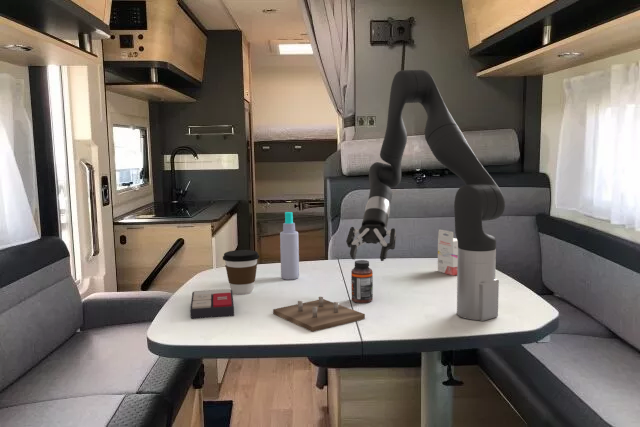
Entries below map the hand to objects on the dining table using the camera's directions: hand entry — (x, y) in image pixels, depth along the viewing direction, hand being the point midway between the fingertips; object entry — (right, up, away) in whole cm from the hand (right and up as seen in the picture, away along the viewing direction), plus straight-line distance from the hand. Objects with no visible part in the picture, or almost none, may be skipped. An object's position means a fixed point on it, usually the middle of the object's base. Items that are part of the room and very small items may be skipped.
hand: (367, 258), depth 157 cm
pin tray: (-14, -13, -18) cm, 26 cm away
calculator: (-43, -13, -10) cm, 46 cm away
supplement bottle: (-2, -12, -4) cm, 13 cm away
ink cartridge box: (+31, -7, +29) cm, 43 cm away
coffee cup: (-37, -11, +7) cm, 39 cm away
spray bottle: (-24, -9, +24) cm, 35 cm away
